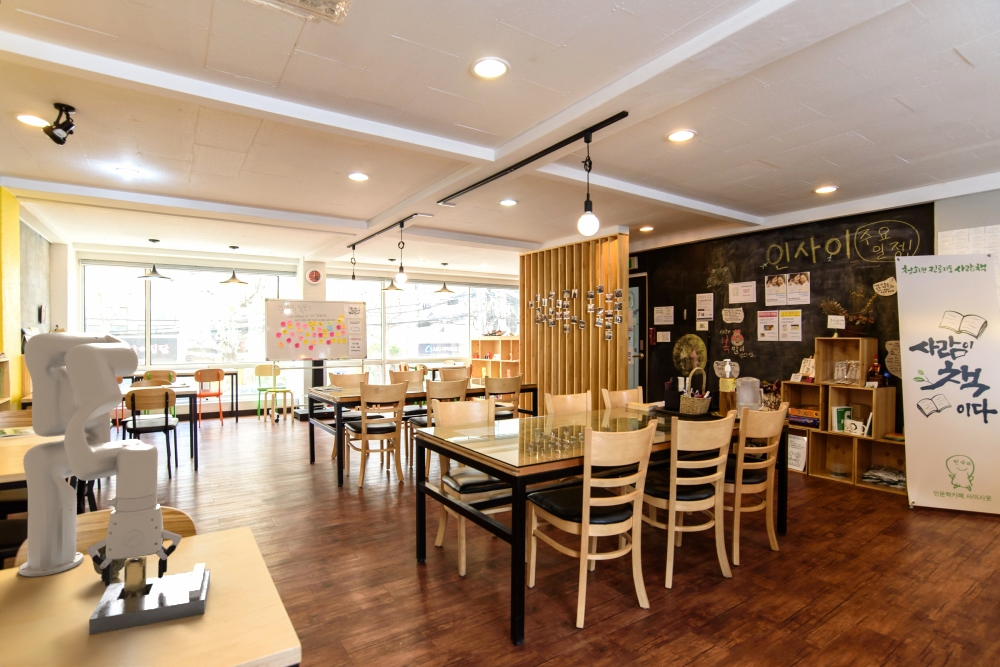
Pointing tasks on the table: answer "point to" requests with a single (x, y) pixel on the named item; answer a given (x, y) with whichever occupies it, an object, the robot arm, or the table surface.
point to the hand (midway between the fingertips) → (135, 579)
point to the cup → (116, 563)
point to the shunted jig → (152, 601)
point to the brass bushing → (135, 577)
